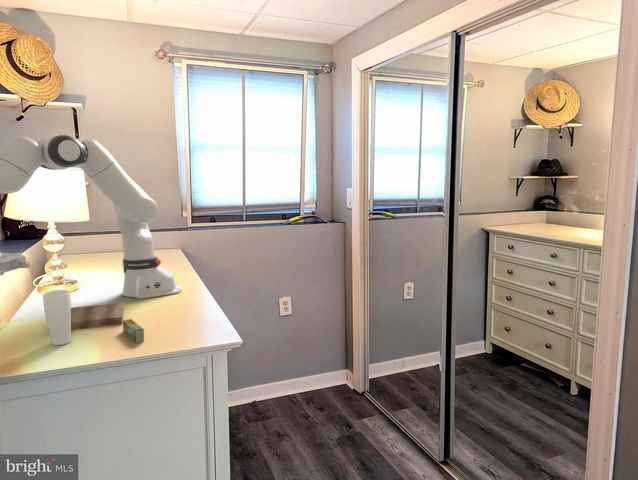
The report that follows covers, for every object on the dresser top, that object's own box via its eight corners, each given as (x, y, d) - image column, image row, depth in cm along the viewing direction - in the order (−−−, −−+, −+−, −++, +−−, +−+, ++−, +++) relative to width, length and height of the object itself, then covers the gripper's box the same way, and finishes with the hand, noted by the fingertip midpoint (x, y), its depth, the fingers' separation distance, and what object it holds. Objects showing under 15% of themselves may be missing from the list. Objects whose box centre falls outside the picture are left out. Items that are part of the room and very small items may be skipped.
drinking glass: (75, 336, 140) (71, 288, 137) (72, 345, 133) (68, 294, 131) (50, 339, 137) (44, 290, 135) (46, 348, 131) (40, 297, 128)
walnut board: (123, 309, 165) (123, 302, 164) (122, 324, 150) (121, 316, 150) (59, 315, 158) (59, 308, 157) (51, 332, 143) (50, 324, 143)
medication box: (144, 342, 136) (144, 329, 136) (135, 344, 135) (134, 331, 134) (131, 330, 146) (131, 318, 145) (122, 332, 144) (121, 319, 143)
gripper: (-63, 263, 125) (-18, 265, 123) (0, 249, 145) (40, 251, 143) (-60, 286, 126) (-15, 288, 124) (2, 269, 146) (42, 271, 144)
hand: (15, 268), depth 133 cm, fingers open, 8 cm apart
